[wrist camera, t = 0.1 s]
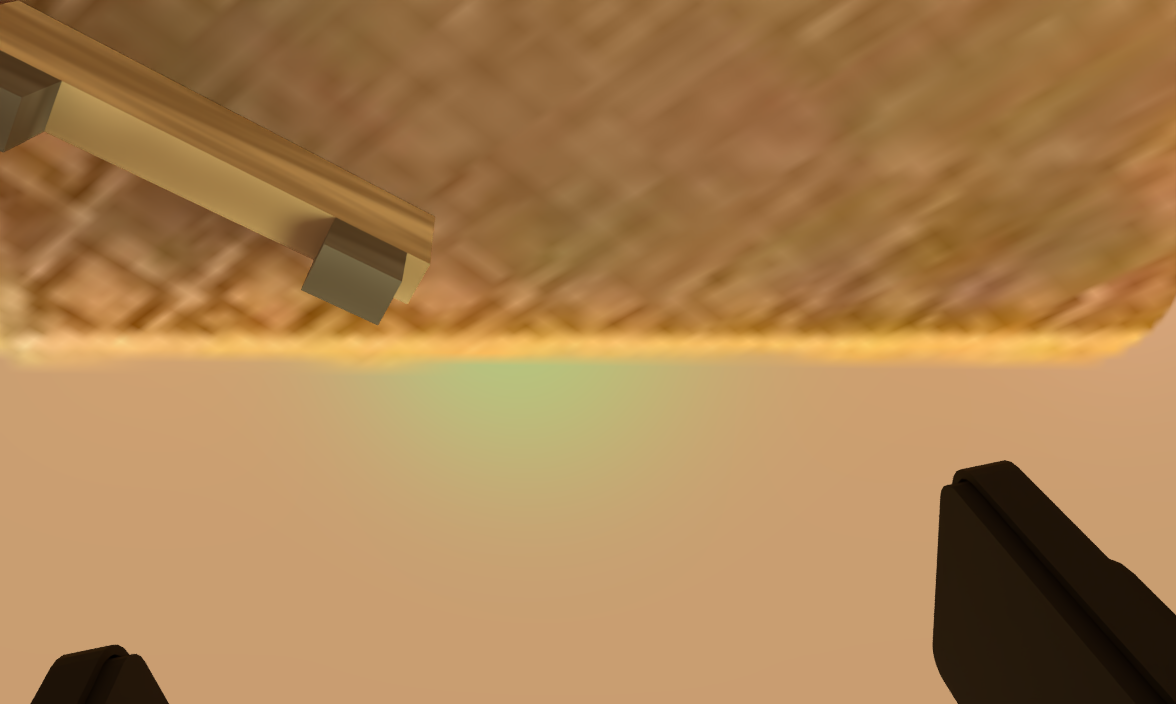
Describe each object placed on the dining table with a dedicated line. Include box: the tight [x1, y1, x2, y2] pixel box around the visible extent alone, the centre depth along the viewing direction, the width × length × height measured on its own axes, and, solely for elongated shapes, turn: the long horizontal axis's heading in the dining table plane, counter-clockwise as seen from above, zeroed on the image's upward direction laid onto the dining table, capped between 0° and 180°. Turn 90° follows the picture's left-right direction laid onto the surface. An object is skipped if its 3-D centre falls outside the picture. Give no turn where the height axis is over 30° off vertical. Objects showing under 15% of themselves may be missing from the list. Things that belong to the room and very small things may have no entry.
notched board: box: [0, 1, 435, 325], centre depth 33 cm, size 2×18×9 cm, turn 58°
